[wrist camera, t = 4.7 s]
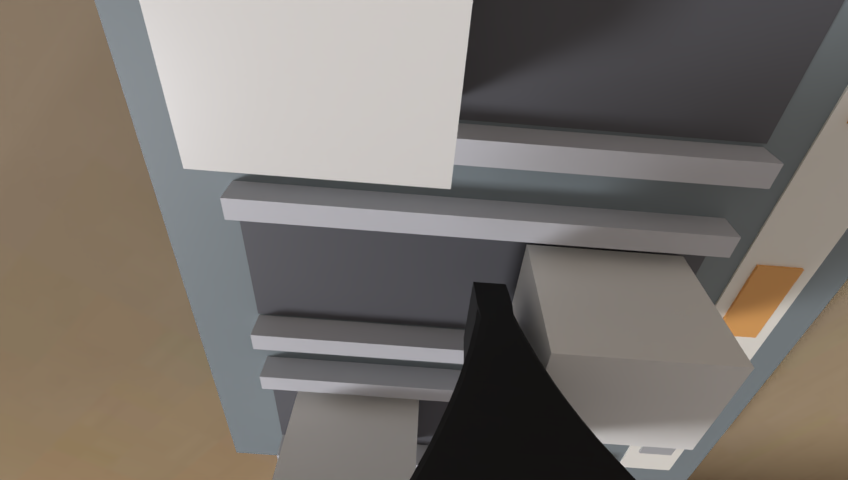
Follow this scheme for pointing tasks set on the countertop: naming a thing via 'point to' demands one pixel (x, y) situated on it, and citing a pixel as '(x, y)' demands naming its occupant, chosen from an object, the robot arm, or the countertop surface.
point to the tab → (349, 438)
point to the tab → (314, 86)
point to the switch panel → (525, 201)
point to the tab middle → (629, 342)
